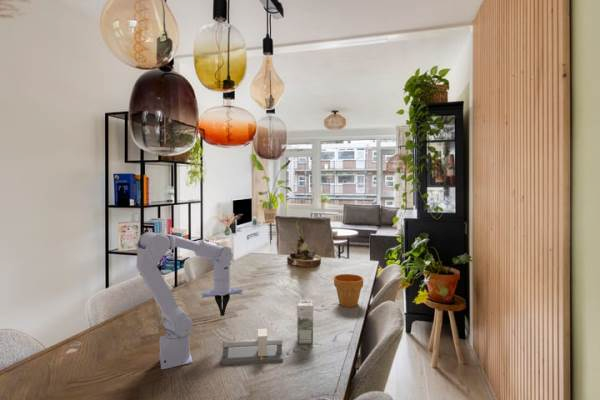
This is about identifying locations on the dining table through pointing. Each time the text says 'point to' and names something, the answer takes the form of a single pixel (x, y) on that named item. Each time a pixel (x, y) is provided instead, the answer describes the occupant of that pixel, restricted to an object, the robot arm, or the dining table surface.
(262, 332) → the collar
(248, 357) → the pipe stand
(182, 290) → the dining table surface
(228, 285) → the robot arm
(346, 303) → the flower pot
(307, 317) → the syrup box
